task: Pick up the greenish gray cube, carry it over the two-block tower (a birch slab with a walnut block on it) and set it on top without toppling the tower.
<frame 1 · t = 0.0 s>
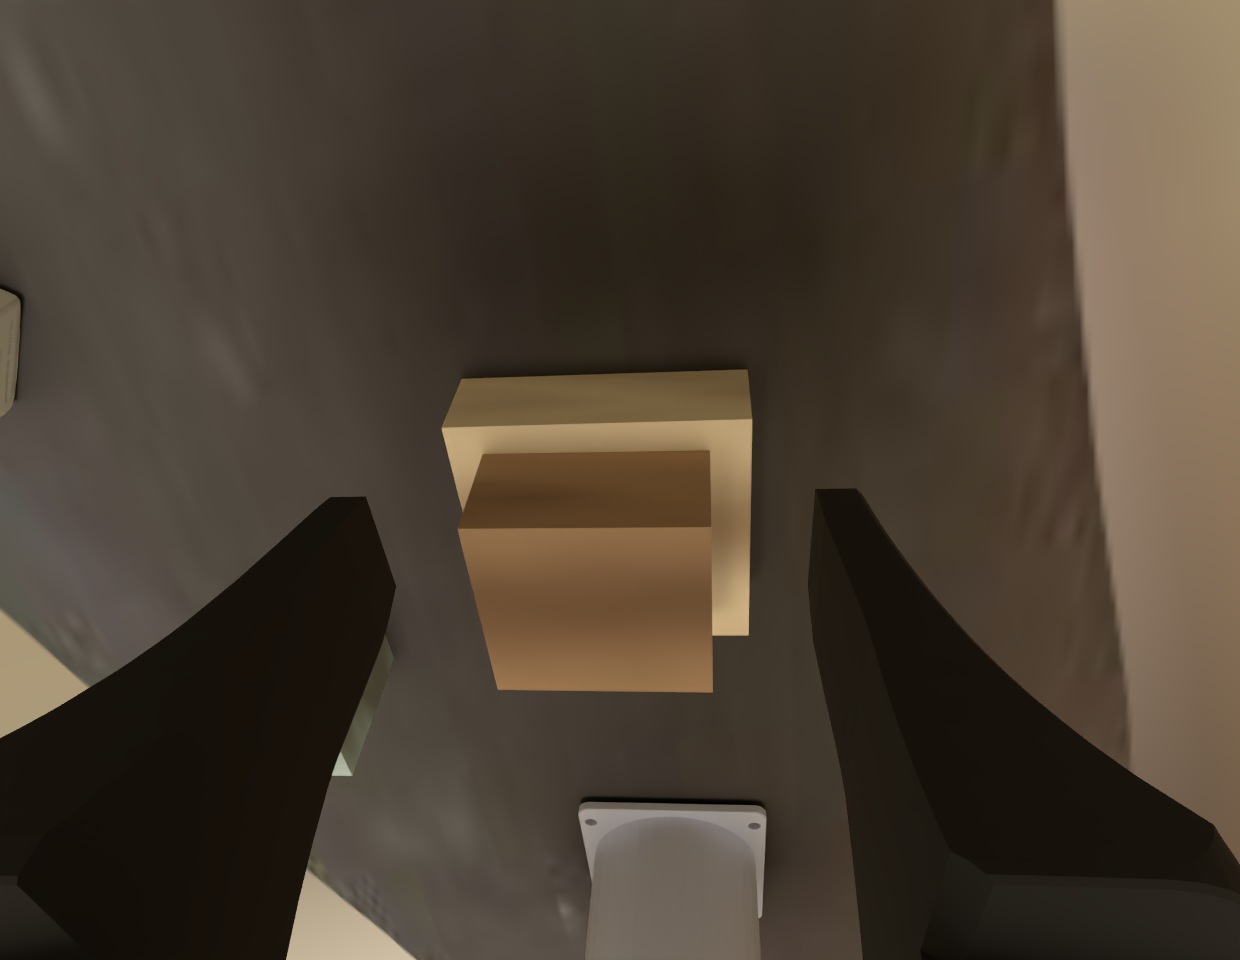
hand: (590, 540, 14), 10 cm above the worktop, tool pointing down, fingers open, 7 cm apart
greenish gray cube: (327, 620, 31), on the worktop
walnut block: (604, 537, 24), point 2 cm above the worktop, touching birch slab
birch slab: (615, 475, 27), on the worktop, touching walnut block
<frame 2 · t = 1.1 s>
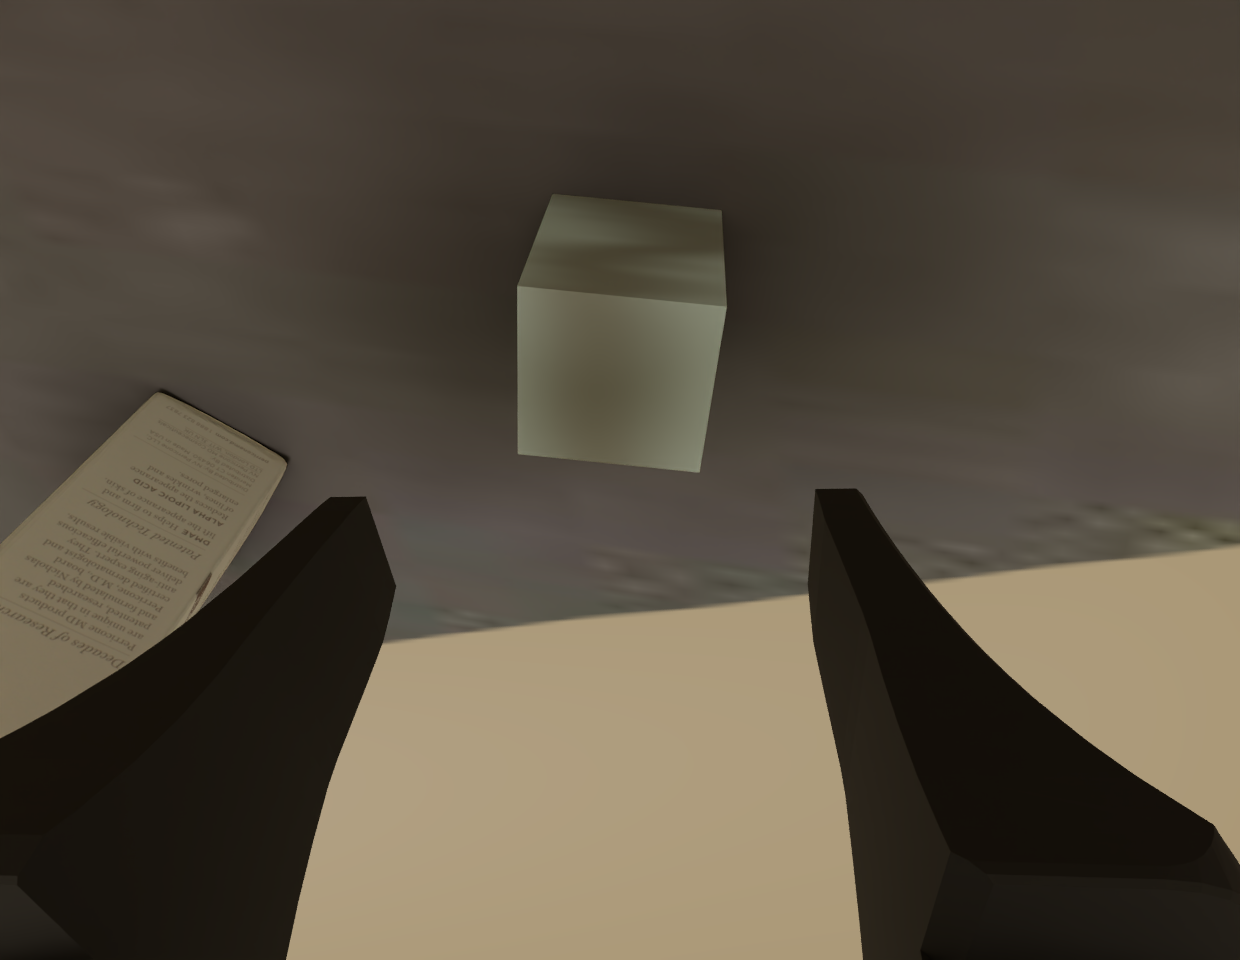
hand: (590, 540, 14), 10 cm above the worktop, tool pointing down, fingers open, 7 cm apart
greenish gray cube: (630, 279, 21), on the worktop
skincare box: (195, 474, 27), on the worktop
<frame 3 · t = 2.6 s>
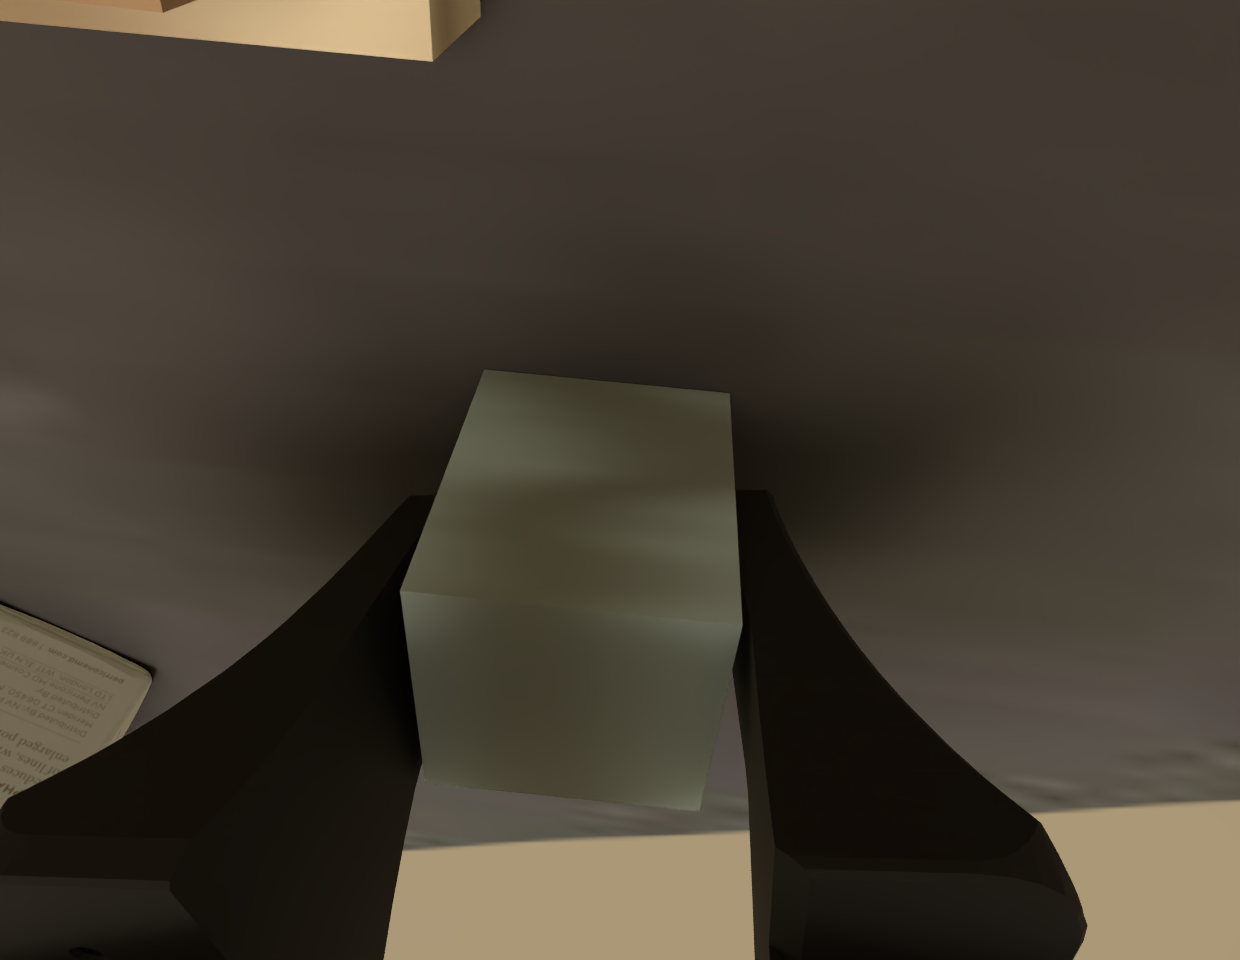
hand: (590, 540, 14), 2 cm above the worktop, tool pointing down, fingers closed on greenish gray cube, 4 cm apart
greenish gray cube: (600, 477, 15), on the worktop, touching gripper
skincare box: (39, 680, 20), on the worktop
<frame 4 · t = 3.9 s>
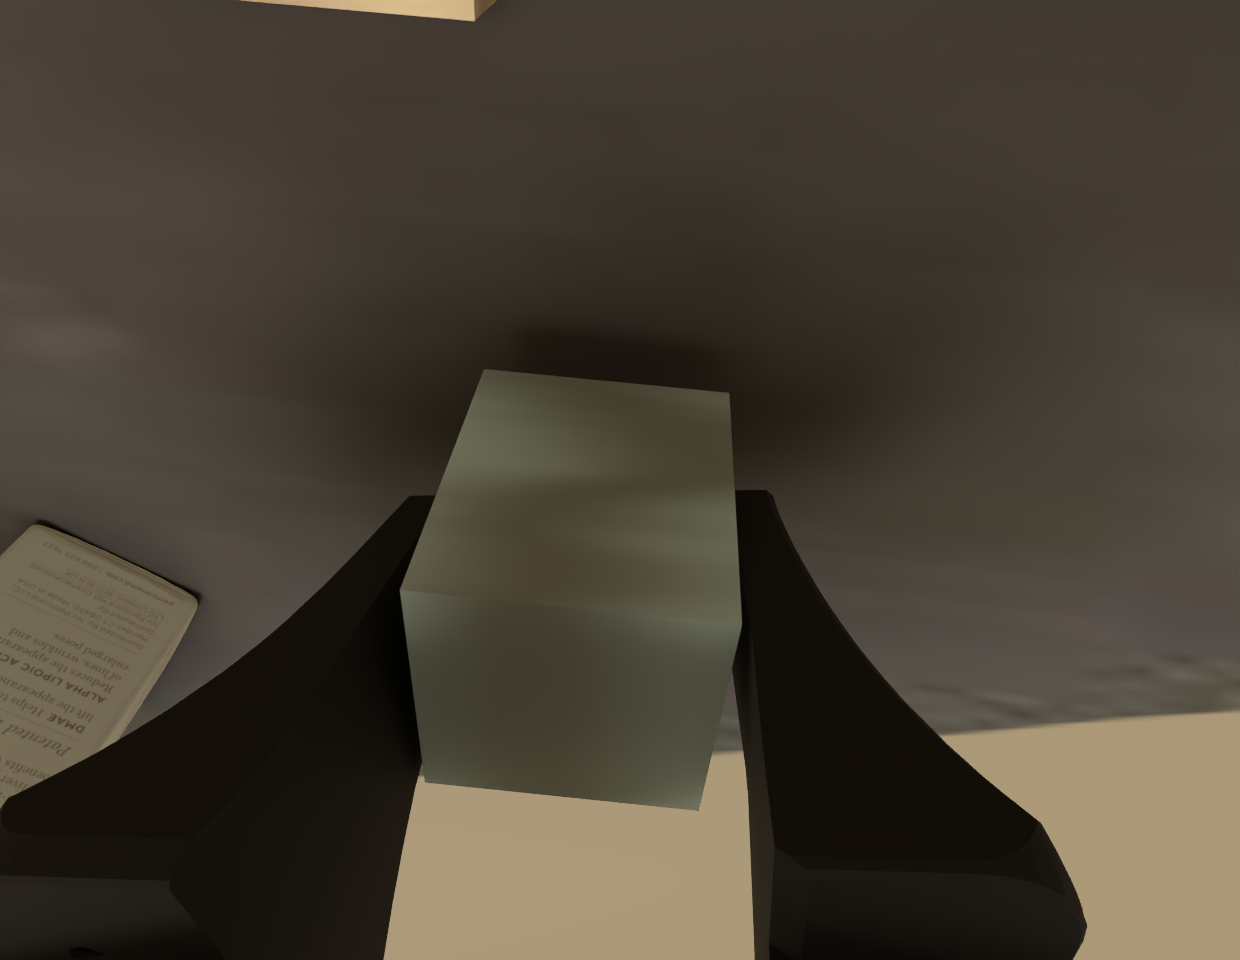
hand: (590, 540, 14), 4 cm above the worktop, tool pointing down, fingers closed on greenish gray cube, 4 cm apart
greenish gray cube: (599, 477, 15), point 2 cm above the worktop, touching gripper
skincare box: (92, 608, 22), on the worktop
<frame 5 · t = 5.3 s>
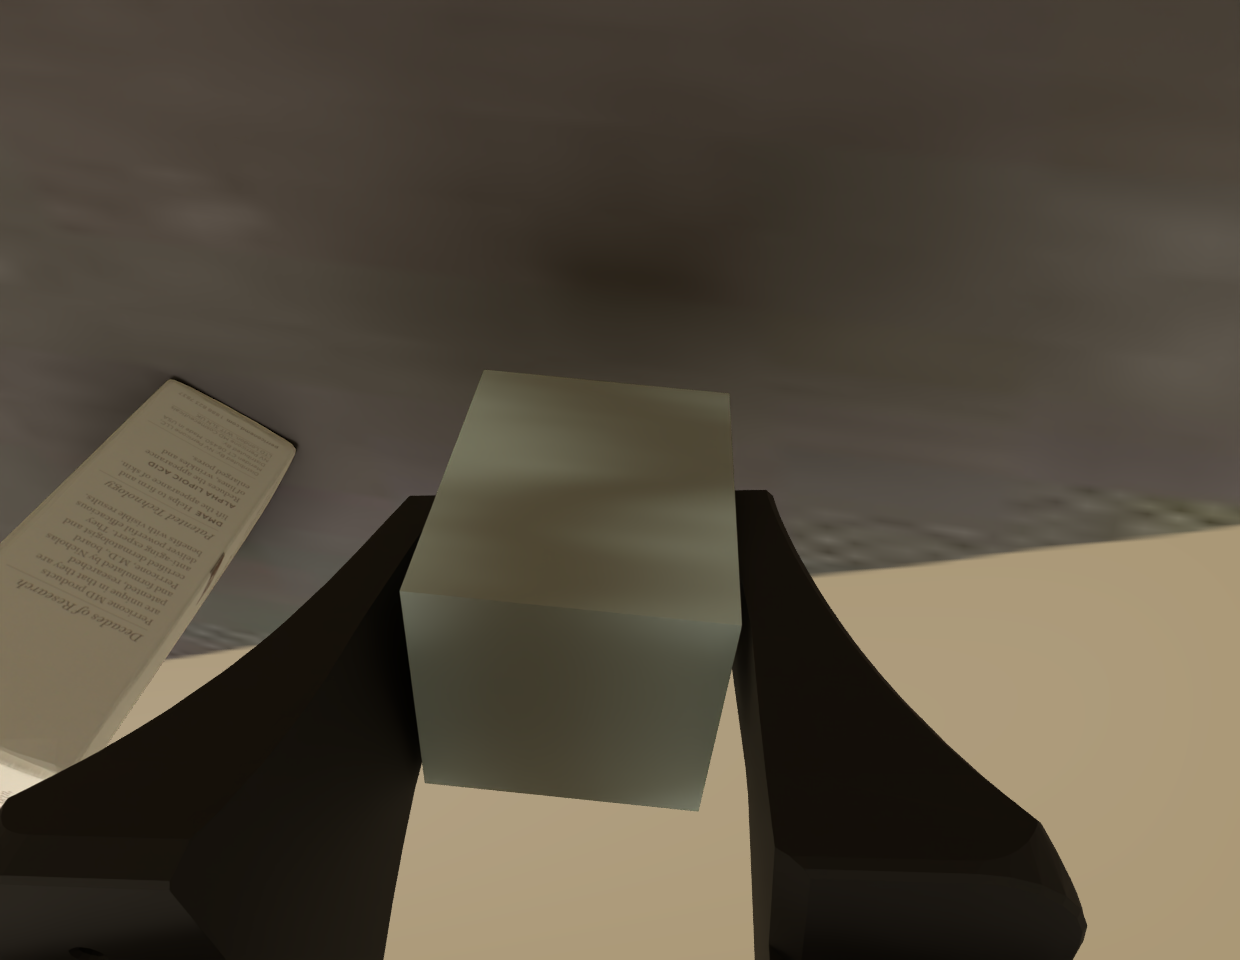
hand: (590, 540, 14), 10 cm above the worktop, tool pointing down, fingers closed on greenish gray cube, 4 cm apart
greenish gray cube: (599, 477, 15), point 9 cm above the worktop, touching gripper
skincare box: (206, 460, 27), on the worktop
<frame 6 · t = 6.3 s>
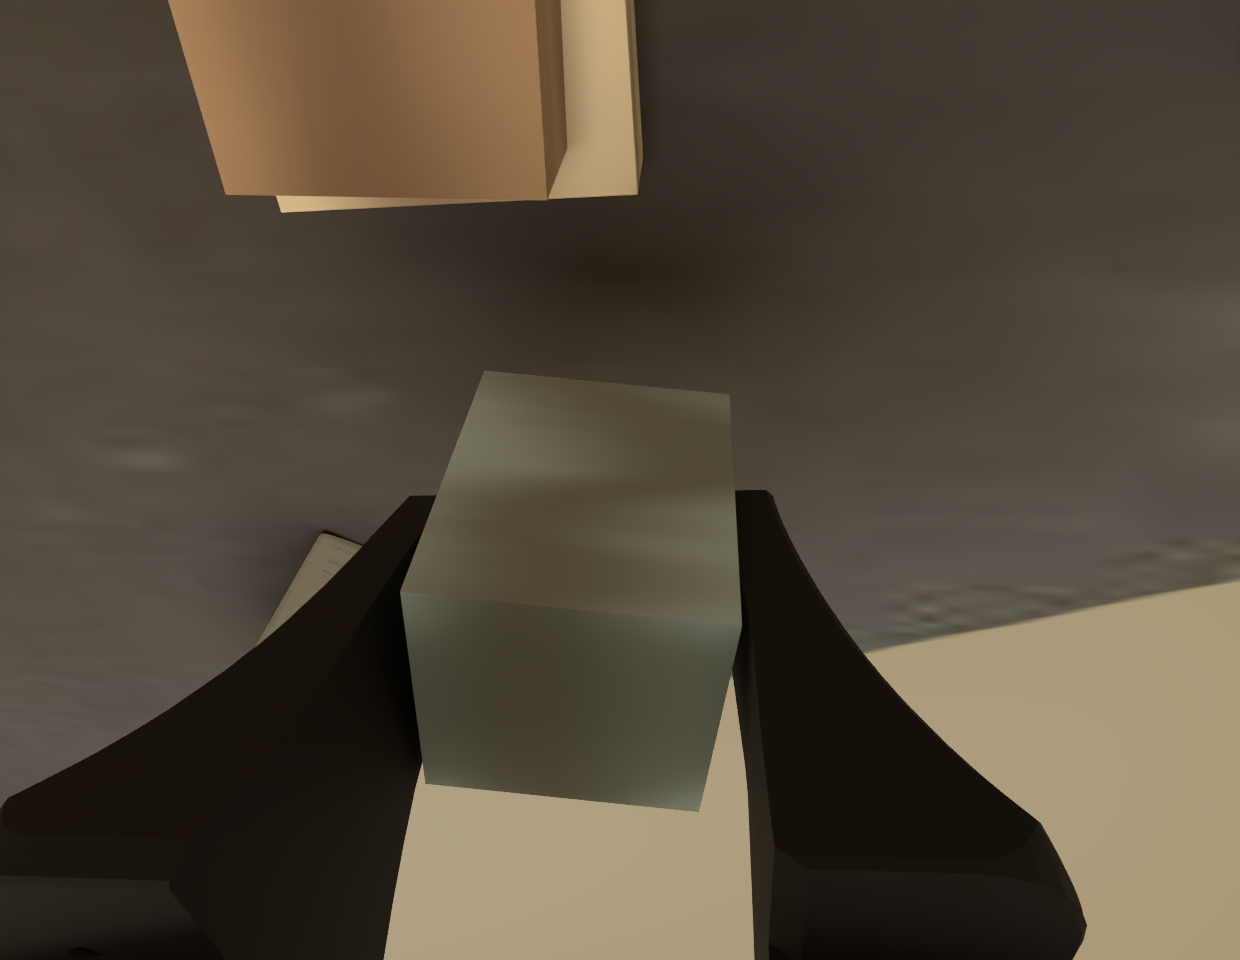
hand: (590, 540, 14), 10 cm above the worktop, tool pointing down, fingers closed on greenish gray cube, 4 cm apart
greenish gray cube: (600, 478, 15), point 9 cm above the worktop, touching gripper
skincare box: (355, 594, 31), on the worktop
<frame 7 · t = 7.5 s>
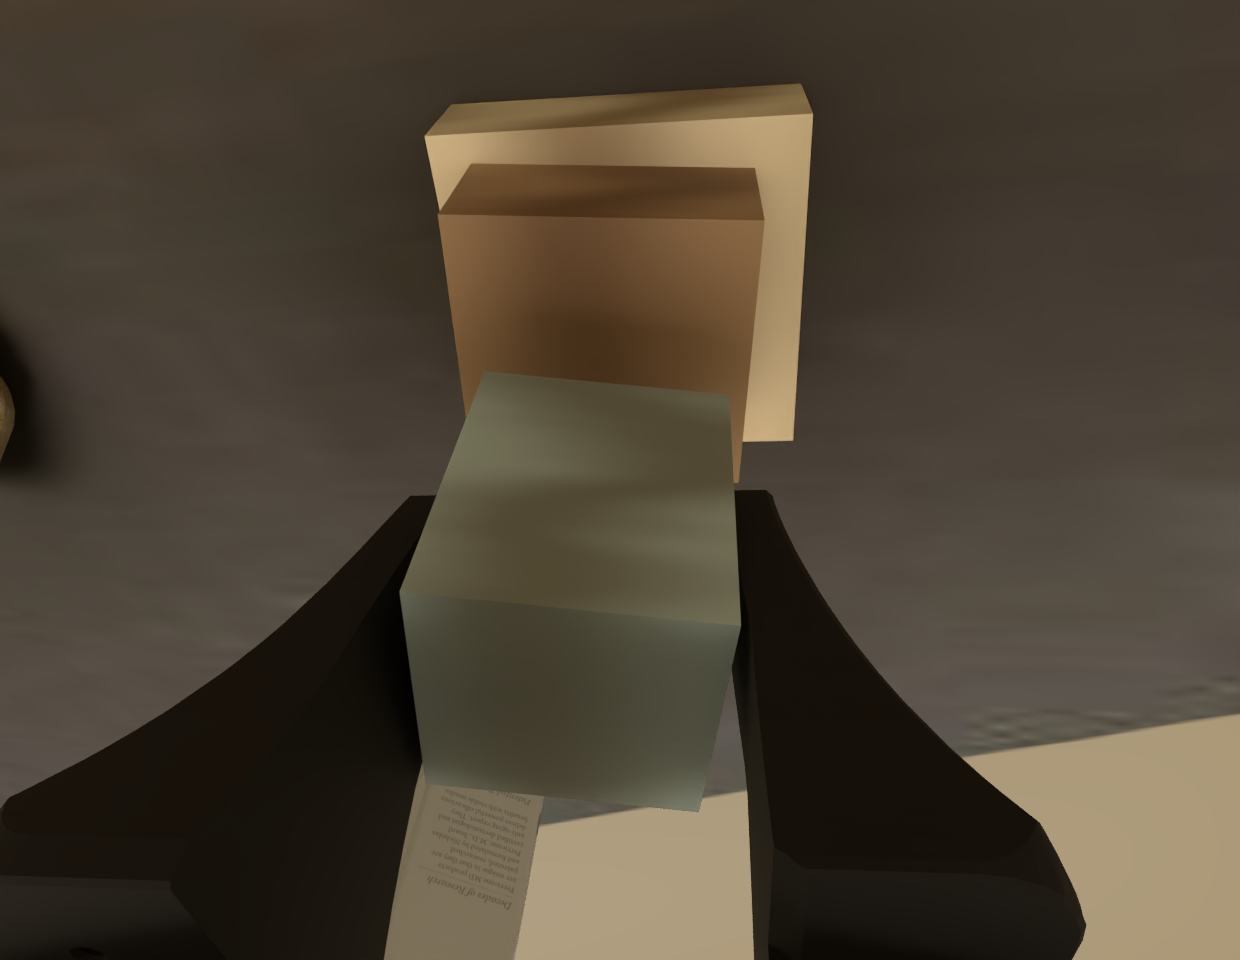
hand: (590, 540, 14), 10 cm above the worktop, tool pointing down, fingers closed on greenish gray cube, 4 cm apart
greenish gray cube: (600, 479, 15), point 9 cm above the worktop, touching gripper
skincare box: (485, 708, 34), on the worktop
walnut block: (613, 297, 20), point 2 cm above the worktop, touching birch slab
birch slab: (634, 252, 22), on the worktop, touching walnut block
when the fingers open (9 cm above the worktop, at t = 8.9 s): greenish gray cube drops 1 cm, point 5 cm above the worktop.
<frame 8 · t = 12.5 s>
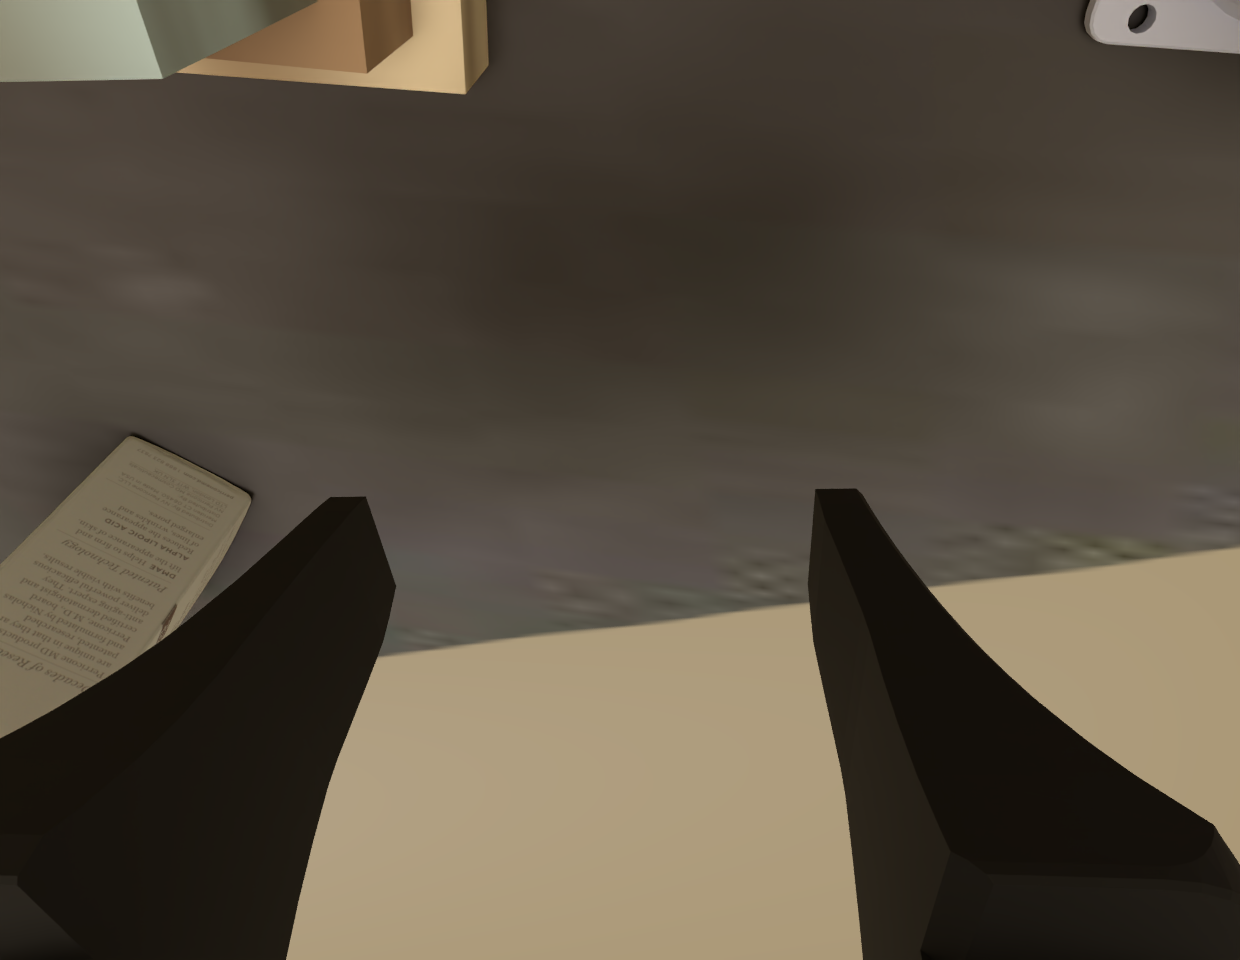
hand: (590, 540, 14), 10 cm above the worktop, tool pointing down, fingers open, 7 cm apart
skincare box: (169, 508, 29), on the worktop
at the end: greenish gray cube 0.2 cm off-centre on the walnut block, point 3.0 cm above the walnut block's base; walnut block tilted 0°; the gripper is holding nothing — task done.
